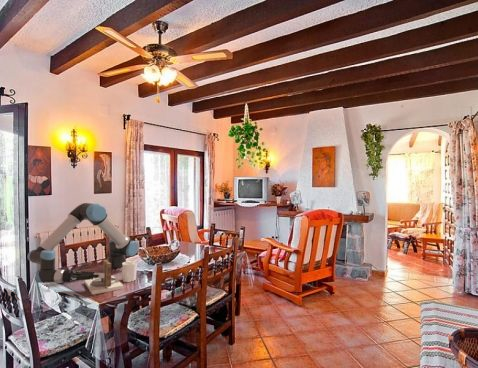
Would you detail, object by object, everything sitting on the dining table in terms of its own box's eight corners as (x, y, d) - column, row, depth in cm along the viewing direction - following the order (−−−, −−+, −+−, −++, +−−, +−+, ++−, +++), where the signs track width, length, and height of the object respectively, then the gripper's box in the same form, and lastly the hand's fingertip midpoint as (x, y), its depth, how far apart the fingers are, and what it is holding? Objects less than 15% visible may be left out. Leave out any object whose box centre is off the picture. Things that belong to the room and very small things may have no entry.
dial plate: (113, 278, 202) (113, 275, 202) (123, 288, 183) (123, 285, 183) (84, 283, 191) (84, 280, 191) (92, 294, 172) (92, 291, 172)
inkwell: (65, 277, 202) (65, 263, 202) (93, 273, 212) (93, 260, 212) (66, 281, 194) (66, 266, 194) (95, 277, 204) (95, 263, 204)
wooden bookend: (89, 281, 188) (90, 258, 188) (112, 277, 197) (112, 255, 197) (96, 290, 173) (97, 265, 173) (120, 285, 182) (121, 262, 182)
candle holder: (118, 280, 198) (119, 263, 198) (131, 276, 206) (131, 260, 206) (127, 283, 193) (127, 265, 193) (139, 279, 201) (140, 262, 201)
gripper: (69, 278, 183) (108, 277, 186) (59, 285, 170) (101, 285, 173) (69, 266, 183) (108, 266, 186) (59, 273, 170) (101, 272, 173)
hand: (104, 275), depth 180 cm, fingers closed
